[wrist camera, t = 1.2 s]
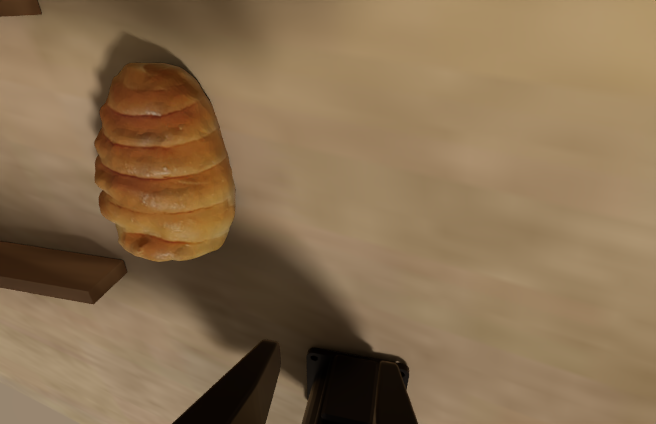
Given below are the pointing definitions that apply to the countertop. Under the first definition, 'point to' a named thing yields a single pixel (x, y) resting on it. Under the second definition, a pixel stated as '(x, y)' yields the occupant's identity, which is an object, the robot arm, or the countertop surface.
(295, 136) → the countertop surface
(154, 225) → the pastry
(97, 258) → the box
